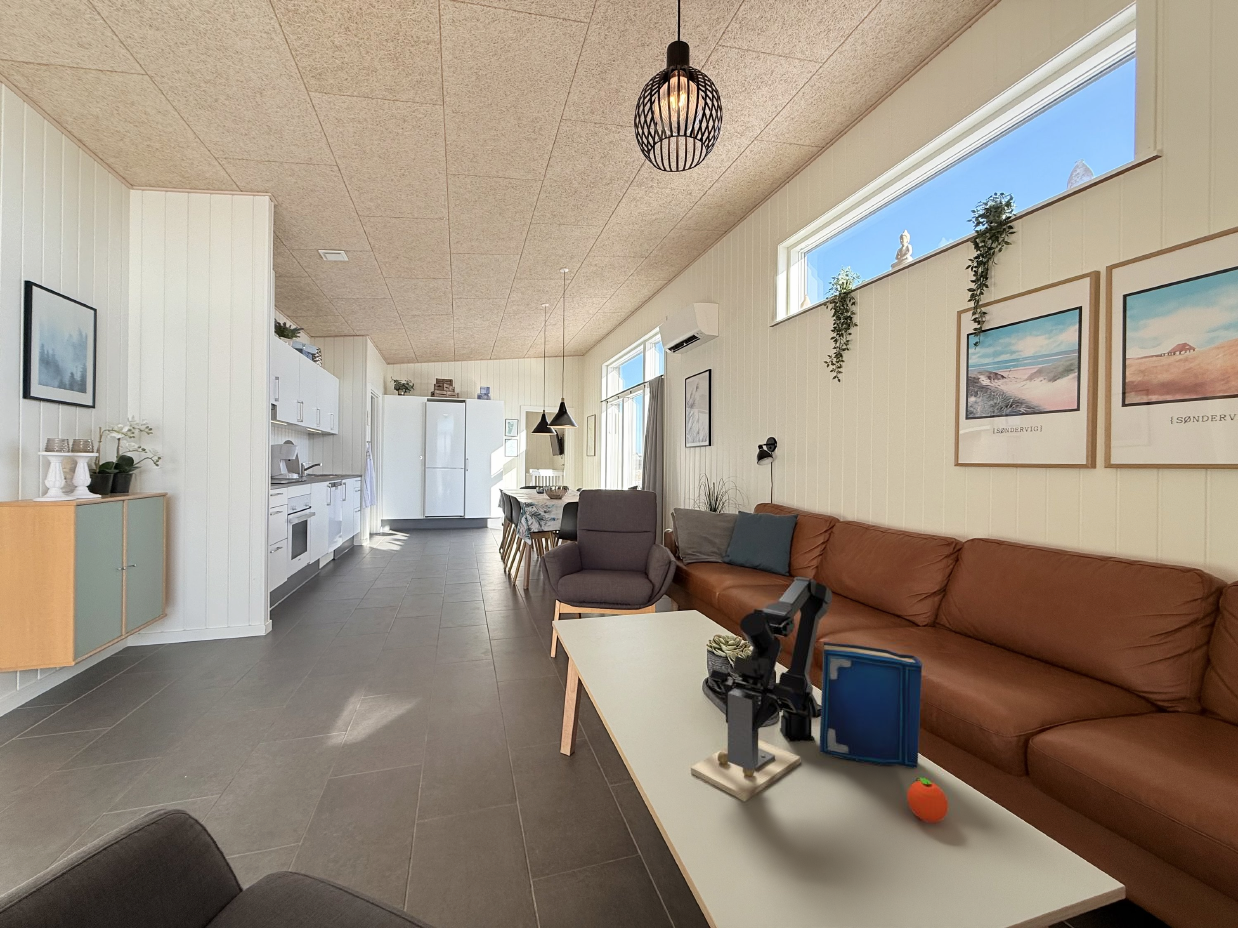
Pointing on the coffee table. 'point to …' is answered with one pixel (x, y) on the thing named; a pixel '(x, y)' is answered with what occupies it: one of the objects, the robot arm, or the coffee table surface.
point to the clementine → (927, 801)
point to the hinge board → (736, 772)
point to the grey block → (742, 729)
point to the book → (870, 705)
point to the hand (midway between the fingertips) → (739, 727)
